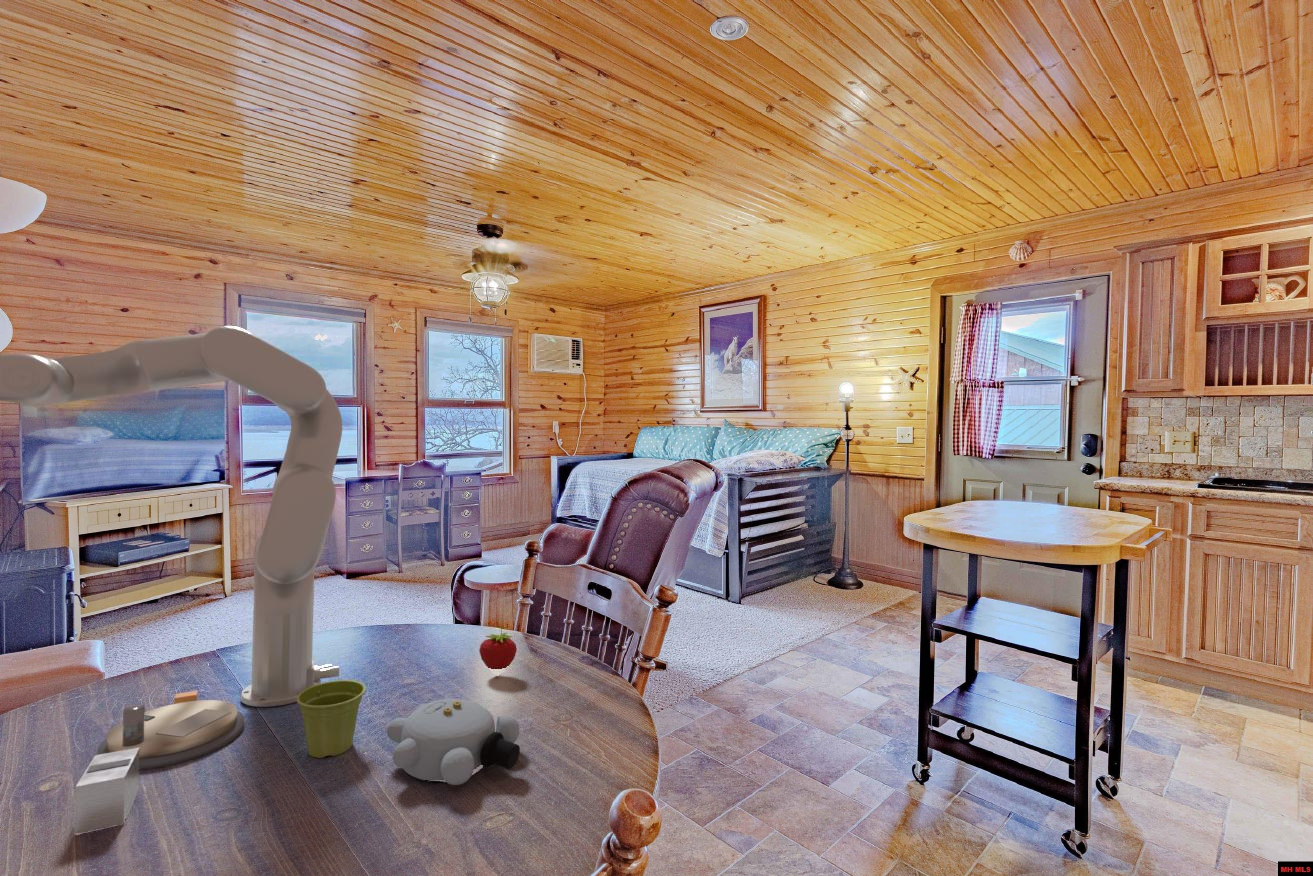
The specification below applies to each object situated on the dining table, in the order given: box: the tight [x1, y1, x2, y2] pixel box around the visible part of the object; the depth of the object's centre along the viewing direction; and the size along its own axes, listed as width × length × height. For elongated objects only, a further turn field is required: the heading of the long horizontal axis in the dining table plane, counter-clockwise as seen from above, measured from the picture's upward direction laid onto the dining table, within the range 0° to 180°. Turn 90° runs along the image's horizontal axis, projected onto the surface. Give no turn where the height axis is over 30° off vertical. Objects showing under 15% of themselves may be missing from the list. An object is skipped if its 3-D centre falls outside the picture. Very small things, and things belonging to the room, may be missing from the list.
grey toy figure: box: [386, 698, 521, 786], centre depth 91 cm, size 17×8×20 cm
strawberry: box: [478, 625, 517, 669], centre depth 124 cm, size 6×8×10 cm
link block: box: [73, 747, 140, 834], centre depth 78 cm, size 4×8×6 cm, turn 30°
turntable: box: [106, 699, 238, 758], centre depth 96 cm, size 16×16×6 cm
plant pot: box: [296, 679, 367, 759], centre depth 94 cm, size 9×9×9 cm
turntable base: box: [96, 690, 245, 771], centre depth 97 cm, size 18×20×3 cm
